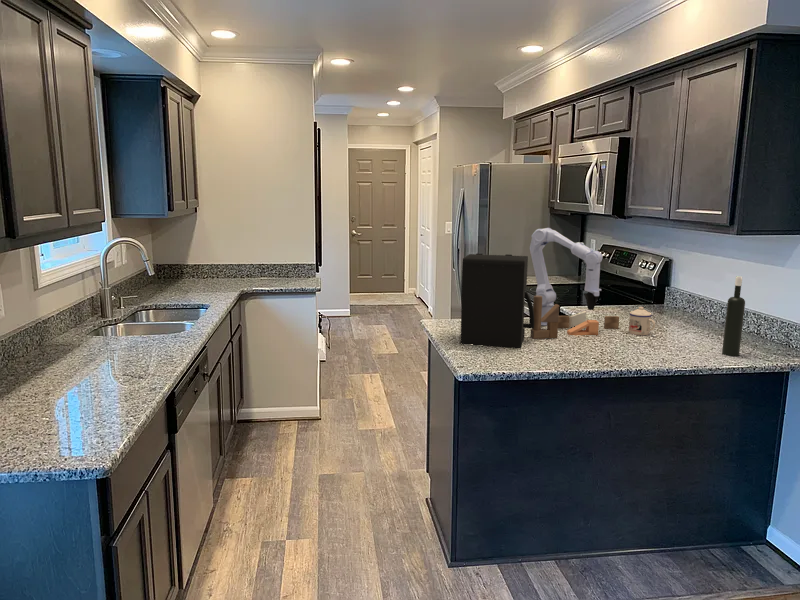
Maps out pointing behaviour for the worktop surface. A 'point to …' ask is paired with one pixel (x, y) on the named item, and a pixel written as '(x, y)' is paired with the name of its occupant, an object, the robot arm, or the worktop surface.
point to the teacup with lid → (640, 322)
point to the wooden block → (544, 320)
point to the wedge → (590, 326)
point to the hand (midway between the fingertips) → (590, 309)
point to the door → (577, 319)
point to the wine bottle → (734, 322)
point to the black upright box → (494, 300)
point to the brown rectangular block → (608, 322)
